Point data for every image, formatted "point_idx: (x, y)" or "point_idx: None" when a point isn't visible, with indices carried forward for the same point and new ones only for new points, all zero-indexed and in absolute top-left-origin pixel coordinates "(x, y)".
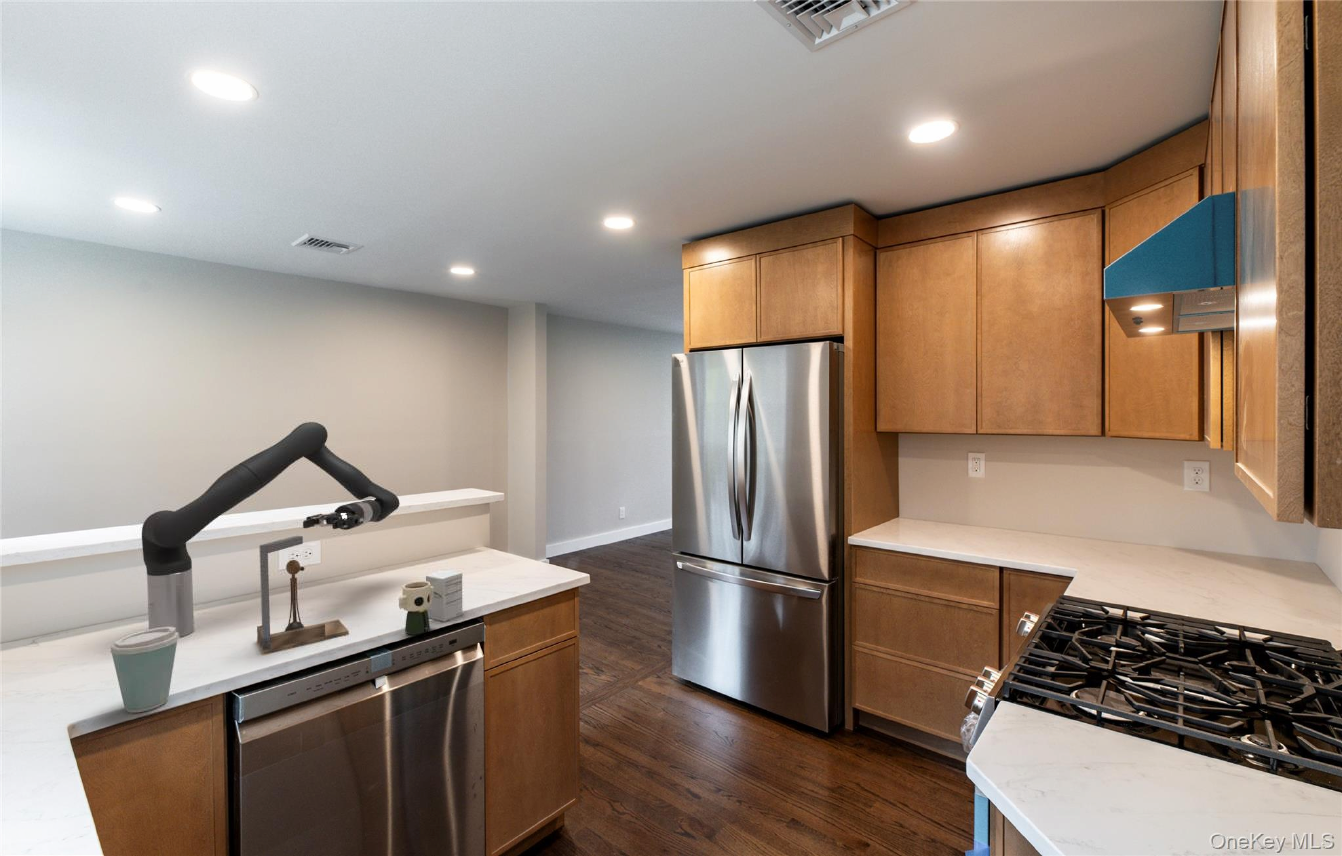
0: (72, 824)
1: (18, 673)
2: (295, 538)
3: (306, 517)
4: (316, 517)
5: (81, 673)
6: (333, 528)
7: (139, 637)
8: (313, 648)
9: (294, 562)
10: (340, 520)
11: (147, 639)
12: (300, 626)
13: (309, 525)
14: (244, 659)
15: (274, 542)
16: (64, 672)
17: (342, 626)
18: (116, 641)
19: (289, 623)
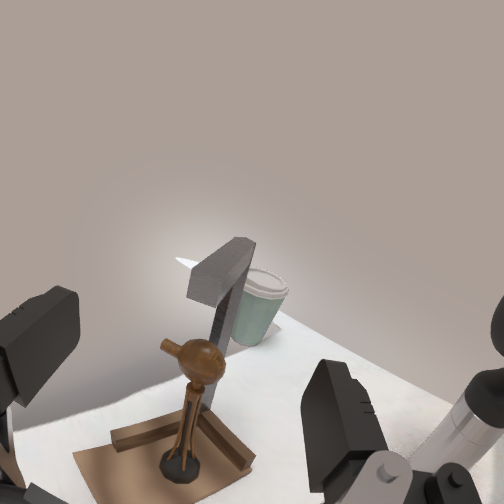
0: (185, 263)
1: (428, 395)
2: (204, 261)
3: (457, 464)
4: (363, 487)
5: (380, 395)
6: (74, 335)
7: (272, 283)
8: (123, 418)
9: (194, 339)
10: (14, 322)
11: (250, 267)
12: (166, 454)
13: (309, 425)
14: (218, 409)
15: (237, 247)
16: (397, 397)
17: (90, 482)
18: (281, 278)
19: (191, 455)
